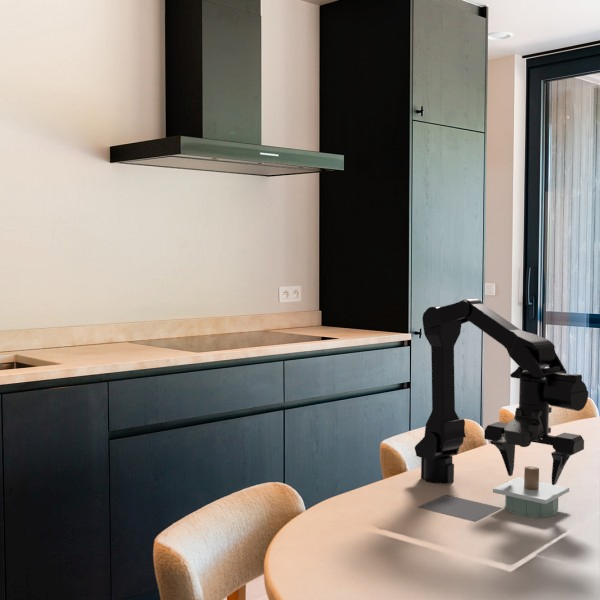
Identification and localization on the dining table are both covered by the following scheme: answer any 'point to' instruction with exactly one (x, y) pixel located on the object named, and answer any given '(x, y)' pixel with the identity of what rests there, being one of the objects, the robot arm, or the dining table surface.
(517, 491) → the lid
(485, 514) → the mat
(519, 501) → the bowl
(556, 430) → the dining table surface
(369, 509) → the dining table surface
